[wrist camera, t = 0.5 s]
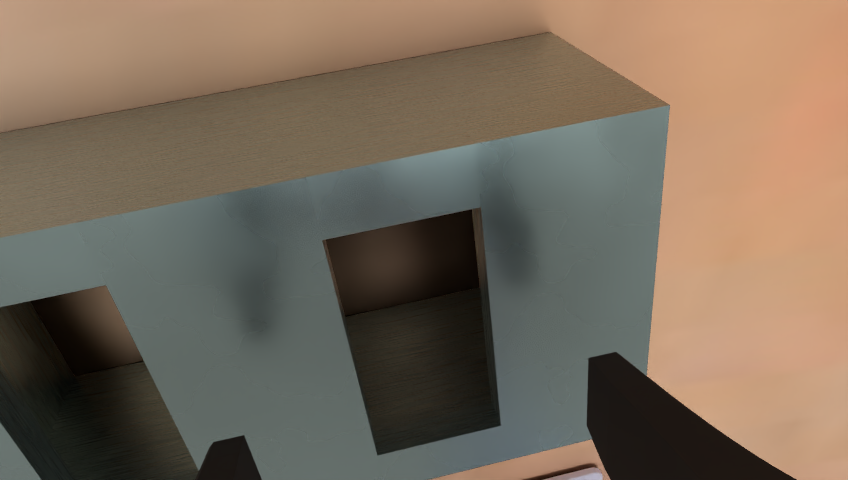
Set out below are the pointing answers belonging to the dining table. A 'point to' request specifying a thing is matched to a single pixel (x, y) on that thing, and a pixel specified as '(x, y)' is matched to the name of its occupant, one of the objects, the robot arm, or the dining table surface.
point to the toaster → (313, 273)
